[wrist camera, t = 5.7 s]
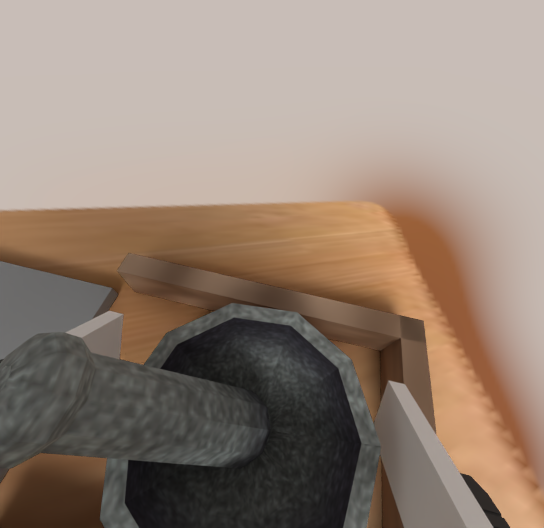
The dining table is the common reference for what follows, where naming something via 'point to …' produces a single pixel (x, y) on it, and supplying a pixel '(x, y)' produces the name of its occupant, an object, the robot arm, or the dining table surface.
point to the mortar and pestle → (203, 423)
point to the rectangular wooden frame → (318, 312)
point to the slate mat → (44, 306)
